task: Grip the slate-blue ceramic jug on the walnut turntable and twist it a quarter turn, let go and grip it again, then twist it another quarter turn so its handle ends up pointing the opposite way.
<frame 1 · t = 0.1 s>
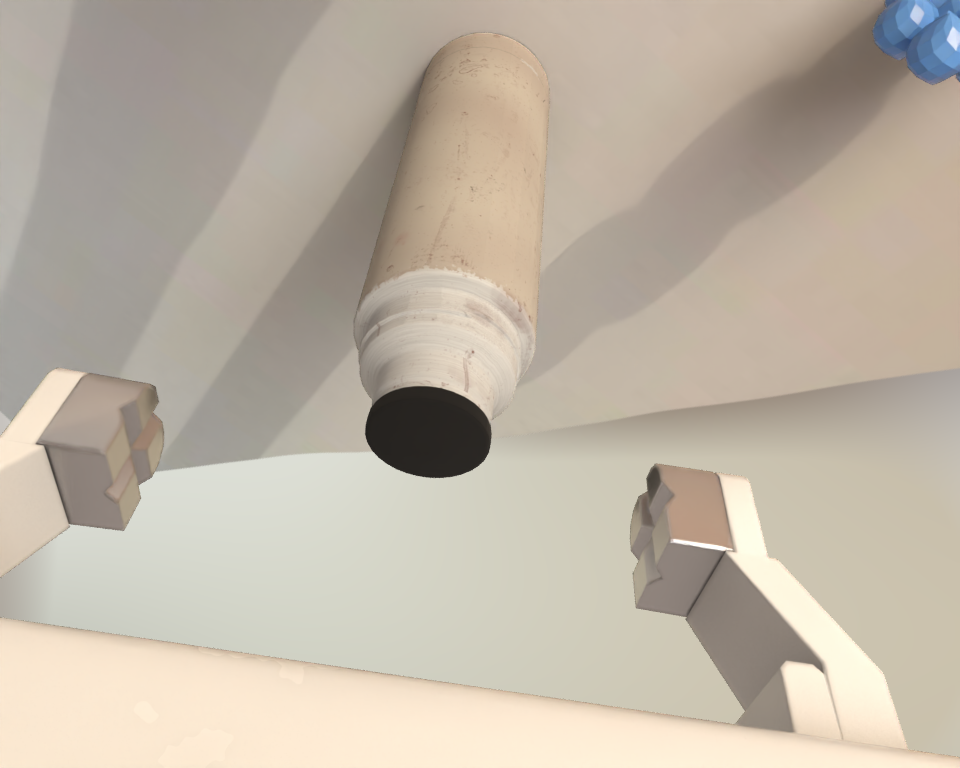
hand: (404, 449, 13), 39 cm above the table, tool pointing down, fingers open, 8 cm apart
thermos bottle: (486, 94, 50), on the table
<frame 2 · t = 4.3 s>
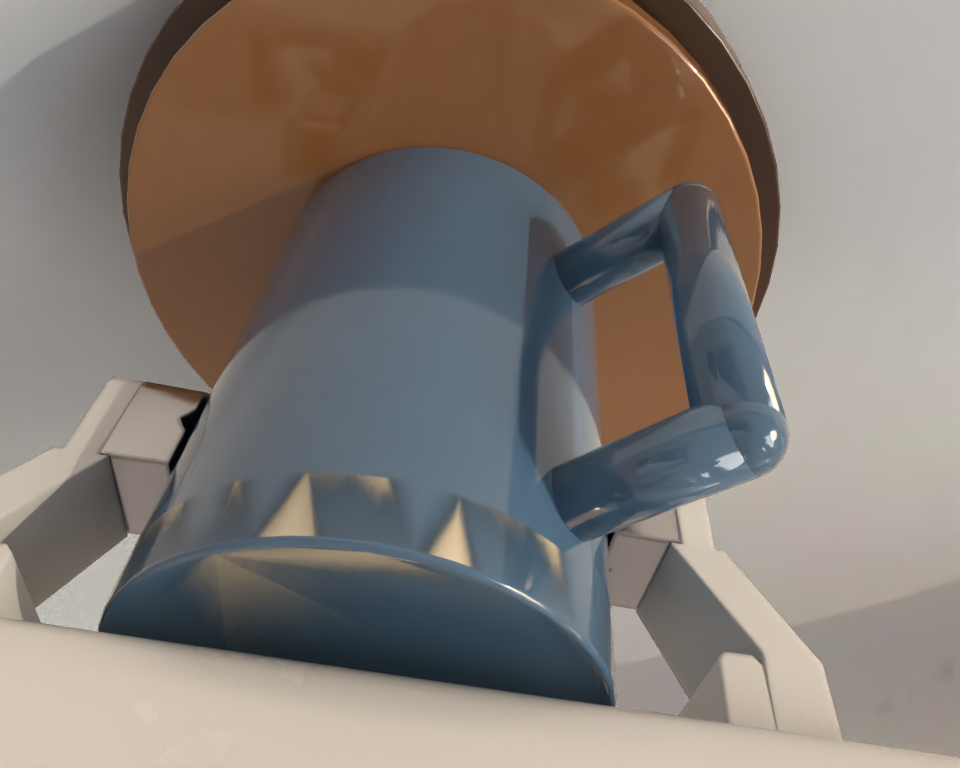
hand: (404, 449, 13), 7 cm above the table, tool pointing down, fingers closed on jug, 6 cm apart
turntable base: (451, 231, 18), on the table
jug: (411, 428, 13), point 7 cm above the table, hinge at 0.1°, touching gripper
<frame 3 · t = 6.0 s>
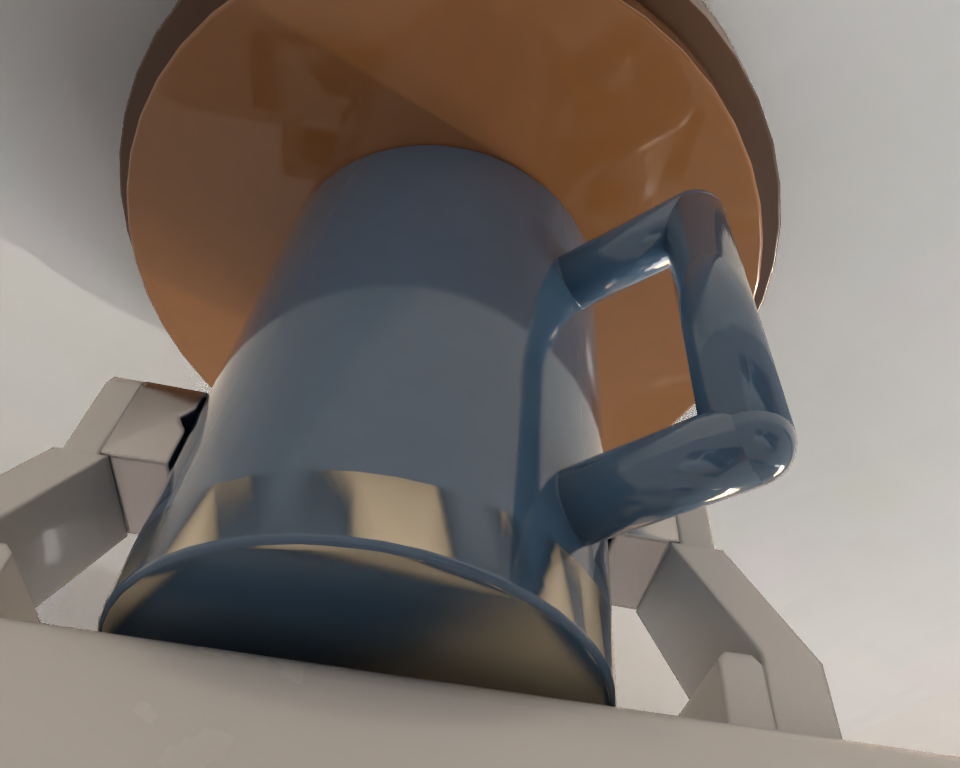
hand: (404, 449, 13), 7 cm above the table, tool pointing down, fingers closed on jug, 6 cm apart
turntable base: (451, 229, 18), on the table
jug: (411, 427, 13), point 7 cm above the table, hinge at 54.3°, touching gripper
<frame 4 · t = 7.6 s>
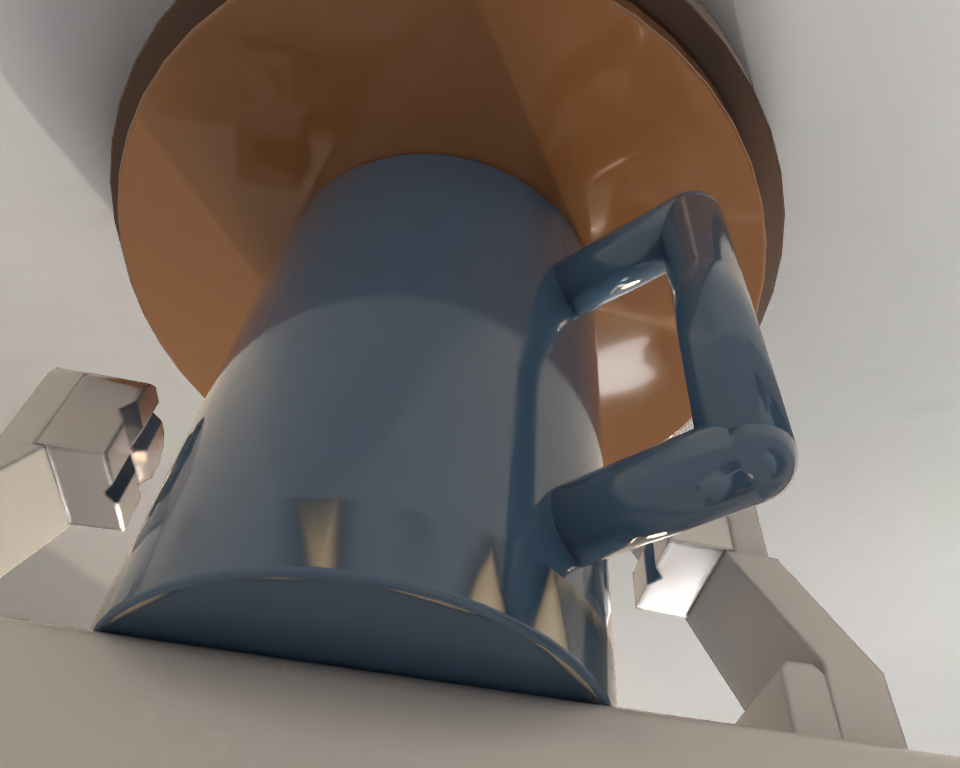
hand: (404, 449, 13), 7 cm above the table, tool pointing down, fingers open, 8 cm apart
turntable base: (449, 238, 18), on the table
jug: (407, 443, 13), point 7 cm above the table, hinge at 90.0°
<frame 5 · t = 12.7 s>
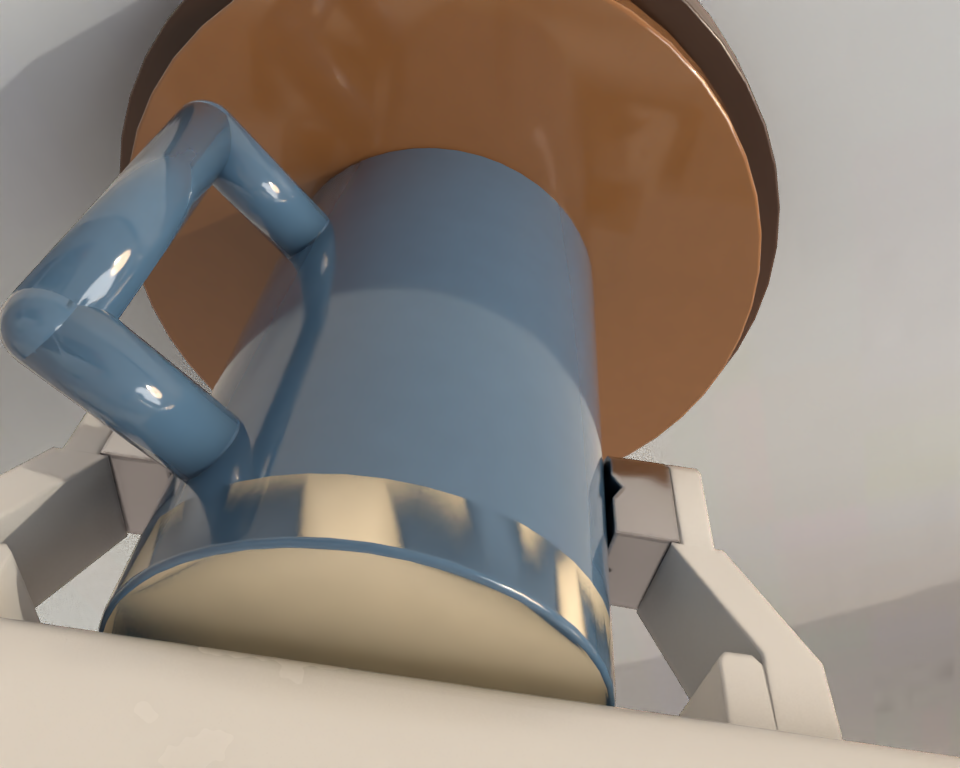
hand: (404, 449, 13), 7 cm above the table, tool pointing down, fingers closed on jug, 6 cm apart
turntable base: (451, 232, 18), on the table
jug: (411, 429, 14), point 7 cm above the table, hinge at 90.2°, touching gripper
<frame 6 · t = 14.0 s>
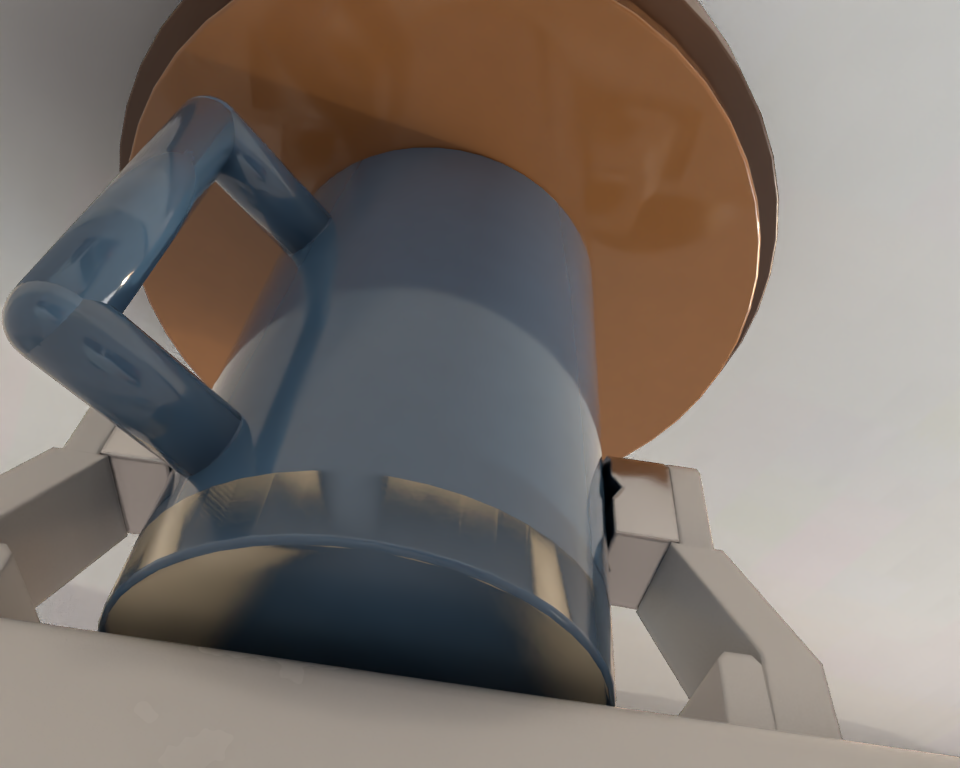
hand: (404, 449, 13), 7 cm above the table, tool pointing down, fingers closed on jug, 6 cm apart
turntable base: (450, 232, 18), on the table
jug: (411, 428, 14), point 7 cm above the table, hinge at 132.5°, touching gripper
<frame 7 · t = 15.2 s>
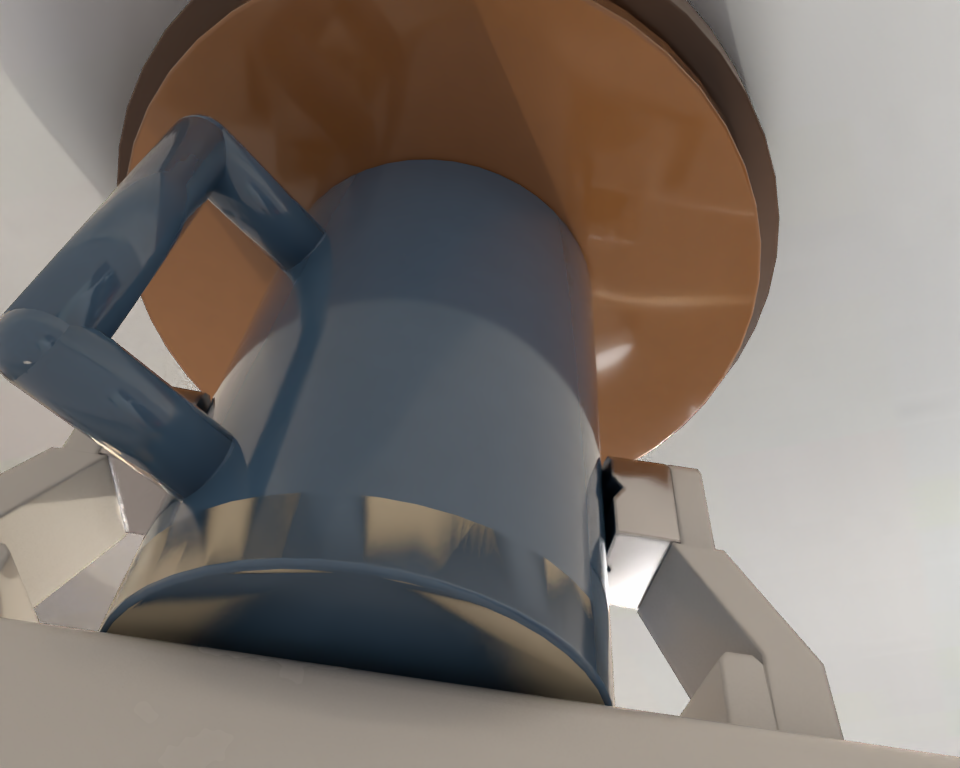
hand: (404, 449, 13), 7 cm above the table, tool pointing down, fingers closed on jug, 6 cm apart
turntable base: (449, 242, 18), on the table
jug: (409, 442, 13), point 7 cm above the table, hinge at 180.6°, touching gripper
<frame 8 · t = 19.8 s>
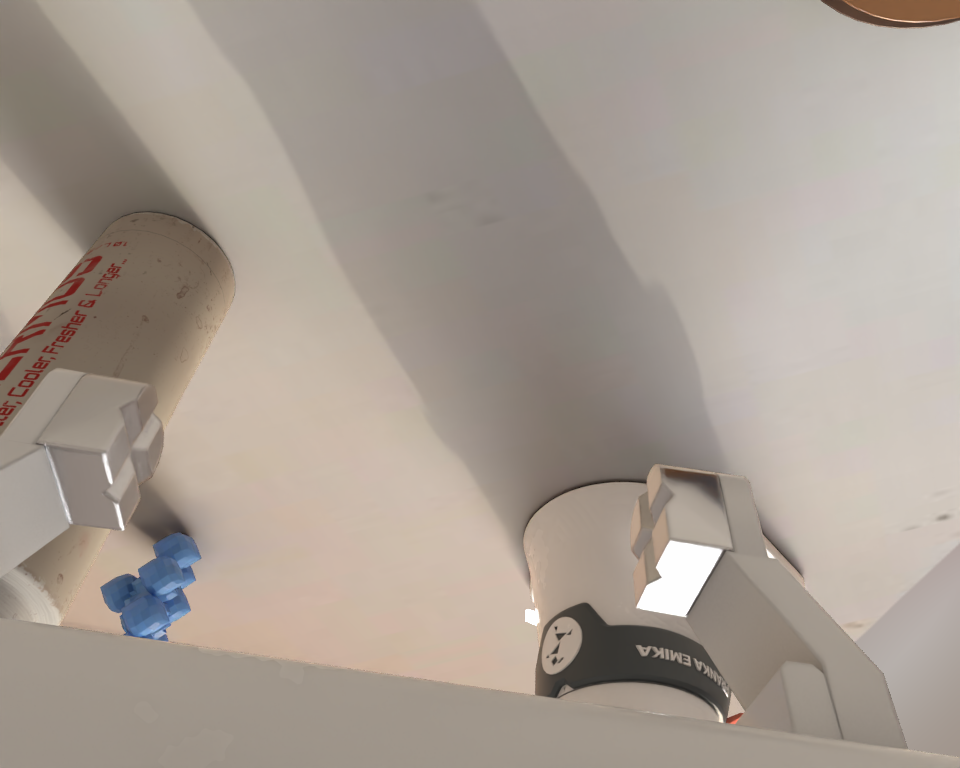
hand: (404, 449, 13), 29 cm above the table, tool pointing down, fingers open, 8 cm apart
thermos bottle: (169, 269, 47), on the table
grapes: (175, 533, 64), on the table
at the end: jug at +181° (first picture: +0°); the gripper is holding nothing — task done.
